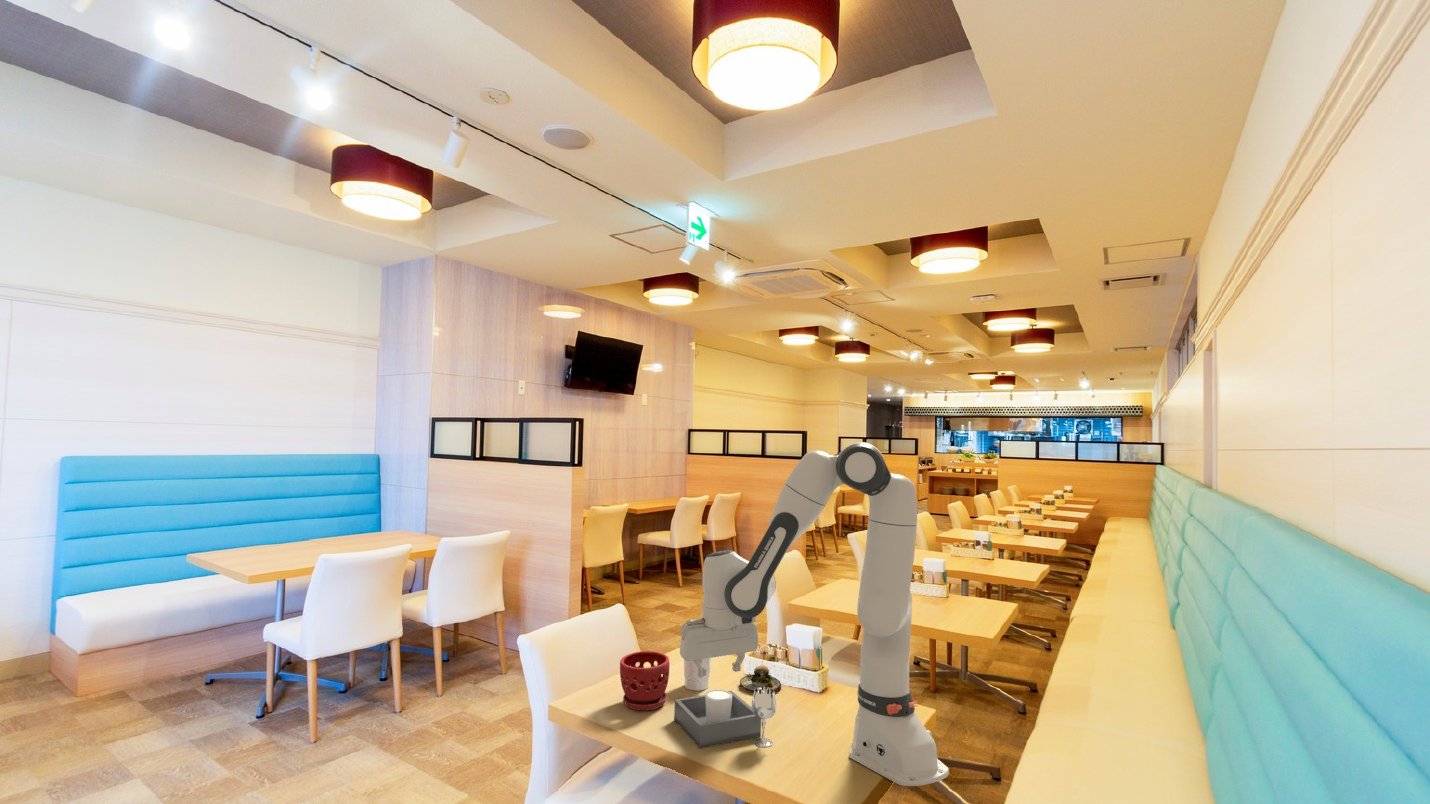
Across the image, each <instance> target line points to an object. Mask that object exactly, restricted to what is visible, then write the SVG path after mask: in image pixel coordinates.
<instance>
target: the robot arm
mask: <svg viewBox="0 0 1430 804" xmlns="http://www.w3.org/2000/svg"><path fill="white" fill-rule="evenodd" d="M886 463H887V462H886V460H885V458H884V456H883V454H882V452H881V451H880V449H878V448H877V447H876V446H875V445H873V444H872V443H869V442H864V441H857V442H854V443H849V445H847V446H846V447H845V448H844V449H843V450H841V451H839V452H838V453H836V454H834V455H832V454H829V453H827V452H826V451H822V450H815V449H814V450H810V451H807V452H806V453H805V454H804V455H803V457H802V458H801V459H800V460H799V461H798V463H797V464H796V465H795V467H794V468H793V469H792V471H791V472H790V474H789V476H788V477H787V480H785V482H784V485H783V487H782V488H781V490H780V493H779V495H778V498H777V499H776V503H775V506H774V508H773V511H772V514H771V518H770V519H769V520H770V521H769V523H768V526H767V528H766V531H765V533H764V535H763V537H762V538H761V540H760V542H759V544H758V546H757V547H756V549H755V551H754V552H753V554H752V556H751V558H750V559H749V560H747V559H745V558H744V557H742V556H740V555H739V554H738V553H737V552H736V551H734V550H731V549H723V550H722V549H721V550H716V551H714V552H711V553H710V554H708V555H707V556H706V557H705V559H704V561H703V568H702V582H701V583H702V584H701V585H702V591H703V598H702V606H701V608H702V609H701V618H697V619H693V620H692V619H689V620H687V621H686V622H683V624H682V625H681V627H680V637H681V638H680V645H679V646H680V647H679V654H680V657H681V658H683V660H684V659H685V660H686V661H693V660H694V663H695V665H696V666H697V668H698V676H699V677H706V669H704V668H702V667H701V665H700V664H701V663H702V659H706V658H711V659H712V658H718V657H726V656H730V655H737V657H736V659H735V662H732V663H731V664H732V671H733V672H735V673H736V672H741V668H742V667H741V666H742V664H743V662H744V660H745V657H746V653H753V652H756V651H757V649H758V647H759V632H758V627H757V625H756V620H757V616H758V615H760V614H762V612H763V611H764V610H765V607H766V605H767V604H768V602H769V601H770V600H771V598H772V596H773V595H774V594H775V591H776V586H777V581H776V578H775V575H774V574H775V573H776V571H777V569H778V568H779V565H780V564H781V562H782V560H783V559H784V556H785V555H786V553H787V552H788V550H789V549H790V547H791V546H792V545H793V544H794V543H795V542H796V541H797V540H798V539H799V538H800V537H801V536H802V535H803V534H805V533H806V532H807V531H808V530H809V529H810V528H811V526H813V524H814V523H815V522H816V520H818V518H820V517H819V516H820V515H821V514H822V513H823V511H824V509H825V507H826V506H827V504H828V501H829V499H830V498H831V496H832V495H833V493H834V492H835V490H836V489H838V488H839V487H840V486H843V485H845V486H846V485H847V487H849V488H851V489H853V490H855V491H858V492H860V493H862V494H865V495H867V496H868V503H869V507H868V519H867V520H868V521H867V530H866V532H867V533H866V543H865V553H864V557H863V558H864V559H863V565H862V571H861V578H860V584H859V589H858V590H859V591H858V597H857V598H858V599H857V607H856V609H857V618H858V621H859V623H860V626H861V627H862V628H863V629H862V638H861V639H862V640H861V645H860V646H861V647H860V658H859V659H860V663H859V665H860V669H859V670H860V671H859V672H860V673H859V684H858V686H857V702H858V710H857V713H856V717H855V721H854V730H853V738H852V743H851V748H850V749H849V752H848V753H849V754H848V757H849V758H850V759H852V760H854V761H855V762H857V763H859V764H861V765H862V766H864V767H866V768H868V769H869V770H872V771H874V772H875V773H876V774H879V775H881V776H883V777H884V778H886V779H888V780H889V781H892V782H893V783H895V784H898V785H900V786H902V787H903V786H904V787H919V786H925V785H929V784H930V785H931V784H933V783H936V782H939V781H942V780H943V779H946V778H947V777H948V776H949V774H950V770H949V767H948V766H947V765H946V764H944V763H943V762H942V761H941V760H940V759H938V750H937V744H936V742H935V739H934V738H933V735H932V732H931V731H930V730H928V729H927V728H926V726H925V724H923V723H922V721H921V719H920V718H919V716H918V715H917V713H916V712H915V710H916V707H918V705H917V703H918V702H919V701H918V700H915V701H914V700H913V696H912V692H911V690H910V652H911V636H912V634H911V633H912V615H913V613H912V612H913V611H912V610H913V596H912V593H911V583H912V575H913V567H914V561H915V550H916V549H915V548H916V538H917V526H918V524H917V523H918V499H917V489H916V485H915V484H914V482H913V481H912V480H911V479H910V478H908V477H906V476H905V475H902V474H898V473H892V472H890V470H889V468H888V466H887V464H886Z"/></svg>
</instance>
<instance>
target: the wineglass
mask: <svg viewBox="0 0 1430 804" xmlns="http://www.w3.org/2000/svg"><path fill="white" fill-rule="evenodd" d="M751 707H752V710H753V713H754V715H755V716H757V717H758V718H760V719H761V730H762V732H761V734H762V735H761V737H756V738H755V739H754V740H753V743H754V745H755V746H757V747H760V748H769V747H772V745H773V744H774V742H773V741H772V740H771V739H769V738H766V736H765V728H766V720H769V719H771V718H773V716H774V715H775V714H776V711H777V698H776V693H775V690H773V689H771V688H768V687H758V688H756V689H755V690H753V695H752V699H751Z"/></svg>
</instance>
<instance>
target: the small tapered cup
mask: <svg viewBox="0 0 1430 804" xmlns="http://www.w3.org/2000/svg"><path fill="white" fill-rule="evenodd" d="M728 691H729V690H724V689H712V690H708V691H707V692H705V694H704V695H705V702H706V719H707V723H709V722H715V721H720V720H726V719H730V714H731V705H732V697H733V696H732V694H731V693H730V692H728Z"/></svg>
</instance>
